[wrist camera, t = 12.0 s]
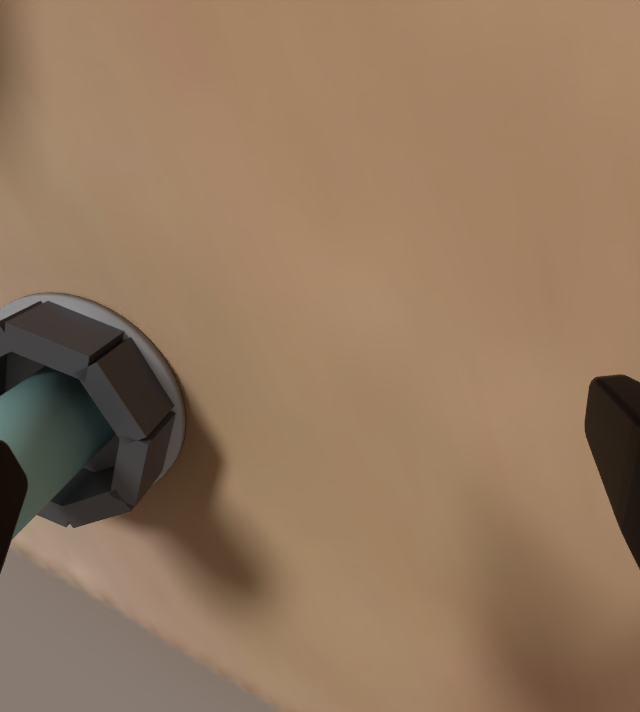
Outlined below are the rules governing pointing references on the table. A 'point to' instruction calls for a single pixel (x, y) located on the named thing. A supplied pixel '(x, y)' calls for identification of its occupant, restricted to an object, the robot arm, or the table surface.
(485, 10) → the table surface
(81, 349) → the collar
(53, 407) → the plug
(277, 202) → the table surface
